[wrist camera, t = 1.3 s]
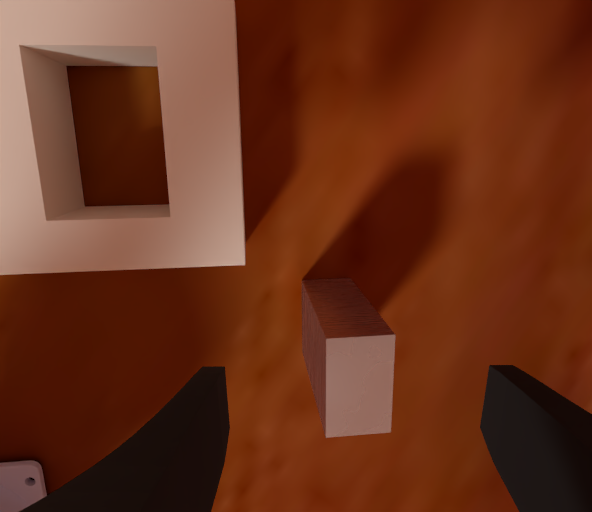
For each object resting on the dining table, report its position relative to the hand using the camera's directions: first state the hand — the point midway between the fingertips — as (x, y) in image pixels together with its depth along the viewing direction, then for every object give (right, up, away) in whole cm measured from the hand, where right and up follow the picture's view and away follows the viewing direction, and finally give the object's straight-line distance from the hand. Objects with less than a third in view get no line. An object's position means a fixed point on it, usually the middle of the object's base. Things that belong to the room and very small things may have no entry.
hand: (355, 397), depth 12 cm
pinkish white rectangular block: (0, +1, +11) cm, 11 cm away
